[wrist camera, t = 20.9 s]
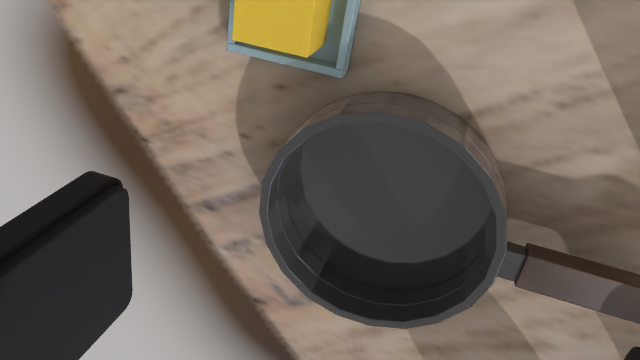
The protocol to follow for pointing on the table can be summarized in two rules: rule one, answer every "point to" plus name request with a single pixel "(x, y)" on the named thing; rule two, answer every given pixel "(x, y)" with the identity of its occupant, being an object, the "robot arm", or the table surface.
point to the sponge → (282, 24)
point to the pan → (386, 211)
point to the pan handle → (573, 280)
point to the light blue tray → (327, 57)
